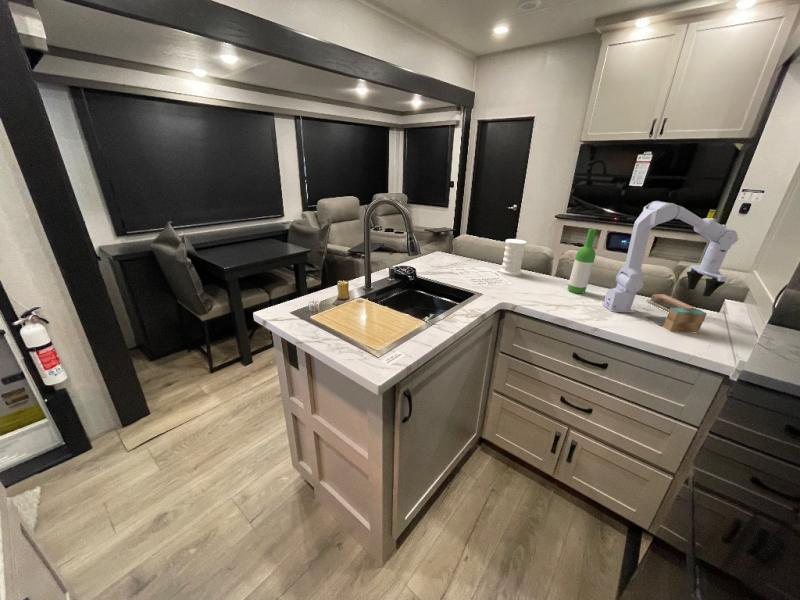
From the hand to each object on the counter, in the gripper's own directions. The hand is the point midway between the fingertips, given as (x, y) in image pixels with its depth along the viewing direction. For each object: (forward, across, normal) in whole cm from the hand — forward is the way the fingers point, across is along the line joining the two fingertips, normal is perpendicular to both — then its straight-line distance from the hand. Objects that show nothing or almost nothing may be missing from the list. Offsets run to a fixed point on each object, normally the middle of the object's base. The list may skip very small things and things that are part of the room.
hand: (698, 292), depth 126 cm
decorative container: (+10, +47, +61) cm, 78 cm away
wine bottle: (+10, +22, +36) cm, 43 cm away
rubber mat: (+10, -8, +14) cm, 19 cm away
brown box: (+10, -14, +14) cm, 23 cm away
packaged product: (+11, +4, +3) cm, 12 cm away
